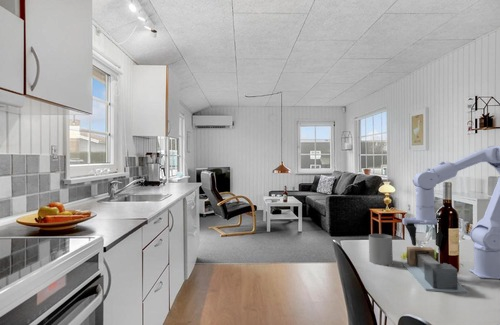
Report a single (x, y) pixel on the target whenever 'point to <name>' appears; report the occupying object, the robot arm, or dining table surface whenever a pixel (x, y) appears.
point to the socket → (412, 251)
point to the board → (421, 279)
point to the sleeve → (441, 276)
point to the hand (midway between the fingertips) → (425, 245)
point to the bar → (423, 259)
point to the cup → (380, 249)
